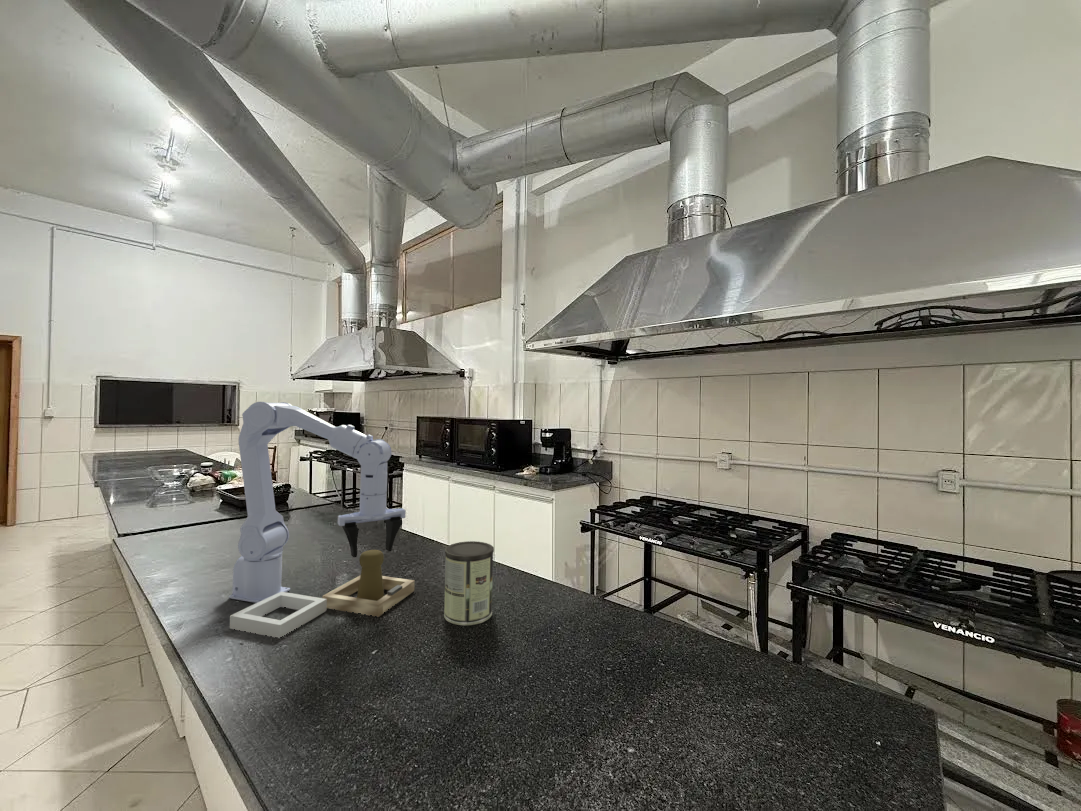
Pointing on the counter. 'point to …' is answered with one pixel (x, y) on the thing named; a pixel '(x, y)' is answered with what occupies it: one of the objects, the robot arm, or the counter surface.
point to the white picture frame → (255, 623)
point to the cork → (371, 575)
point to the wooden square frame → (369, 607)
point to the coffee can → (468, 582)
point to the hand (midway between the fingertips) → (371, 553)
